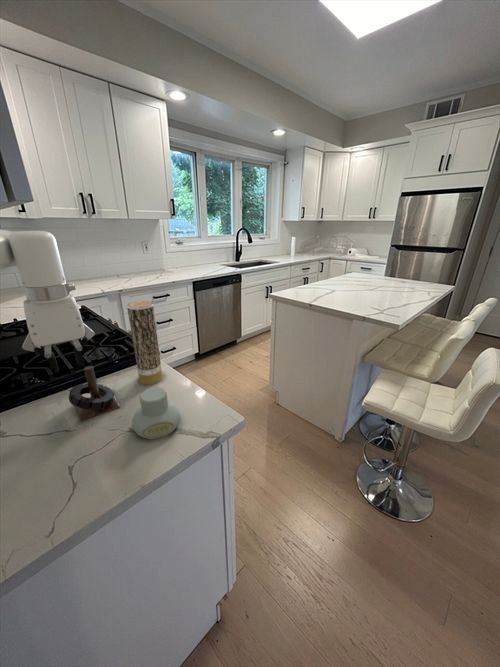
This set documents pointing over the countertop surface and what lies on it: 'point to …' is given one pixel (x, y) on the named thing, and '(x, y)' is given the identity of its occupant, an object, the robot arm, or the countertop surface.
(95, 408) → the ring
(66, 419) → the countertop surface
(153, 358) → the patterned tall cylinder
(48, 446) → the countertop surface
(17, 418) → the countertop surface
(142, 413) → the air freshener
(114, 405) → the holder
